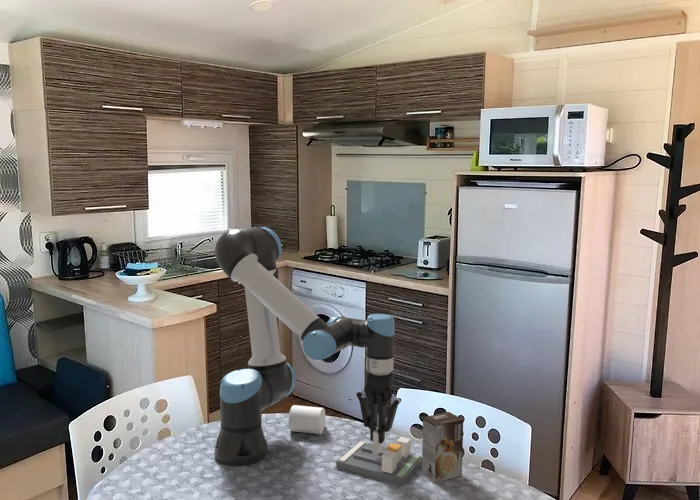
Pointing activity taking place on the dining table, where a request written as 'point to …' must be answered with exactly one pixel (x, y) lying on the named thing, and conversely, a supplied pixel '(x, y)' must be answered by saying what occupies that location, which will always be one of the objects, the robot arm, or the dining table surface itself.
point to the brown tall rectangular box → (442, 446)
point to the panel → (377, 464)
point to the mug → (306, 419)
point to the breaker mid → (395, 450)
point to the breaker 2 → (404, 446)
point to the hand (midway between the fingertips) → (377, 452)
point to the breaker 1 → (389, 462)
